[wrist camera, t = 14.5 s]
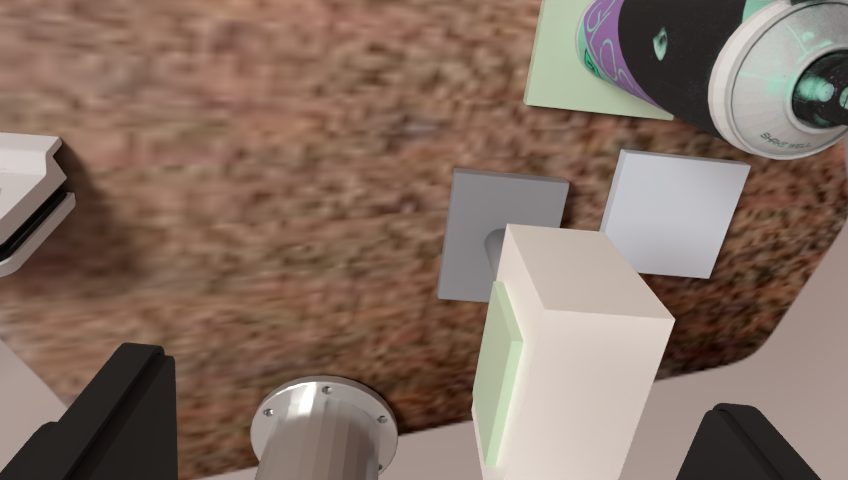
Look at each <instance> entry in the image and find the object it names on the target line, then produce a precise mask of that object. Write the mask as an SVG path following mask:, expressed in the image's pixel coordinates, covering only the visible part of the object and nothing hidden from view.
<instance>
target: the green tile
mask: <svg viewBox="0 0 848 480" xmlns="http://www.w3.org/2000/svg"><path fill="white" fill-rule="evenodd" d="M592 1H593V0H542V2H541V8H540V13H539V18H538V24H537V29H536V35H535V40H534V46H533V51H532V56H531V62H530V67H529V73H528V78H527V83H526V89H525V94H524V100H523V102H524V103H525V104H526V105H534V106H543V107H552V108H561V109H571V110H580V111H589V112H599V113H608V114H617V115H626V116H636V117H645V118H654V119H664V120H673V117H674V115H672V114H670V113H668V112H666V111H664V110H662V109H660V108H658V107H656V106H654V105H652V104H650V103H648V102H646V101H644V100H642V99H640V98H638V97H636V96H634V95H632V94H630V93H628V92H626V91H624V90H622V89H620V88H618V87H616V86H614V85H612V84H610V83H608V82H606V81H604V80H602V79H600V78H598V77H596V76H594V75H593V74H592V73H590V72H589V71H588V70H587V69H586V68H585V67H584V66H583V65H582V63H581V62H580V60H579V58H578V56H577V52H576V48H575V34H576V28H577V25H578V22H579V19H580V17H581V15H582V13H583V11H584V10H585V9H586V7H587V6H588V5H589V4H590V3H591V2H592Z"/></svg>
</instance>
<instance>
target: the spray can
mask: <svg viewBox="0 0 848 480" xmlns="http://www.w3.org/2000/svg"><path fill="white" fill-rule="evenodd" d="M575 48H576V52H577V56H578V58H579V60H580V62H581V63H582V65H583V66H584V67H585V68H586V69H587V70H588V71H589V72H590V73H592V74H593V75H594V76H596V77H598V78H600V79H602V80H604V81H606V82H608V83H610V84H612V85H614V86H616V87H618V88H620V89H622V90H624V91H626V92H628V93H630V94H632V95H634V96H636V97H638V98H640V99H642V100H644V101H646V102H648V103H650V104H652V105H654V106H656V107H658V108H660V109H662V110H664V111H666V112H668V113H670V114H672V115H674V116H676V117H678V118H680V119H682V120H684V121H686V122H688V123H690V124H692V125H694V126H696V127H698V128H700V129H702V130H704V131H706V132H708V133H709V134H711V135H713V136H715V137H717V138H719V139H721V140H723V141H725V142H727V143H729V144H731V145H733V146H735V147H737V148H739V149H741V150H744V151H746V152H748V153H751V154H755V155H760V156H763V157H767V158H771V159H776V160H792V159H797V158H803V157H807V156H810V155H813V154H815V153H818V152H821V151H822V150H824V149H826V148H828V147H830V146H832V145H834V144H835V143H837V142H838V141H839V140H841V139H842V138H843V137H845V136H846V135H847V134H848V0H593V1H592V2H591V3H590V4H589V5H588V6H587V7H586V9H585V10H584V11H583V13H582V15H581V17H580V19H579V22H578V25H577V28H576V34H575Z"/></svg>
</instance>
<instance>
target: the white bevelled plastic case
mask: <svg viewBox="0 0 848 480" xmlns="http://www.w3.org/2000/svg"><path fill="white" fill-rule="evenodd" d="M61 145H62V142H61V139H60V138H59V137H53V136H40V135H27V134H14V133H1V132H0V277H3V276H6V275H9V274H11V273H13V272H15V271H16V270H18V269H19V268H20V267H21V266H22V264H23V263H24V262H25V261H26V260H27V259H28V258H29V257H30V256H31V255H32V253H33V252H34V251H35V250H36V249H37V248H38V247H39V246H40V245H41V244H42V242H43V241H44V240H45V239H46V238H47V237H48V236H49V235H50V234H51V233H52V231H53V230H54V229H55V228H56V227H57V226H58V225H59V224H60V223H61V221H62V220H63V219H64V218H65V217H66V216H67V215H68V214H69V213H70V212H71V210H72V209H73V208H74V207H75V195H74V193H70V192H66V191H65V190H59V189H60V188H61V187H62V186H63V184H62V183H63V182H64V181H65V180H66V179H67V177H66V176H65V174H64V173H63V171H62V170H61V168H60V167H59V165H58V164H57V163H56V161H55V160H54V158H53V155H54V154H55V152H56V151H57V150H58V149H59V147H60V146H61Z"/></svg>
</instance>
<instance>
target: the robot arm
mask: <svg viewBox="0 0 848 480" xmlns="http://www.w3.org/2000/svg"><path fill="white" fill-rule="evenodd" d="M251 443H252V446H253V450H254V452H255V454H256V456H257V458H258V460H259V461H260V463H259V467H258V470H257V473H256V477H255V480H378V475H380V474H381V473H382V472H383V471H384V470H385V469H386V468H387V467H388V465H389V464H390V463H391V461H392V459H393V457H394V455H395V452H396V448H397V444H398V428H397V421H396V419H395V416H394V414H393V411H392V410H391V408H390V407H389V405H388V404H387V403H386V401H385V400H384V399H383V398H381V397H380V396H379V395H378V394H377V393H376V392H374V391H373V390H371V389H370V388H368V387H367V386H365V385H363V384H360V383H358V382H356V381H354V380H350V379H346V378H342V377H336V376H327V375H322V376H308V377H303V378H299V379H295V380H293V381H290V382H287V383H285V384H283V385H281V386H280V387H278V388H276V389H275V390H273V391H272V392H271V393H270V394H269V395H268V396H267V397H266V398H264V400H263V401H262V403H261V404H260V406H259V407H258V409H257V411H256V414H255V416H254V419H253V423H252V427H251ZM0 480H178V462H177V422H176V381H175V360H174V357H172V356H166V355H165V353H164V349H163V347H161V346H157V345H147V344H137V343H127V342H126V343H123V344H122V345H121V346H120V347H119V348H118V349H117V350H116V351H115V352H114V354H113V355H112V356H111V357H110V359H109V360H108V361H107V362H106V363H105V365H104V366H103V367H102V368H101V370H100V371H99V372H98V373H97V374H96V376H95V377H94V378H93V379H92V381H91V382H90V383H89V384H88V385H87V387H86V388H85V389H84V390H83V391H82V393H81V394H80V395H79V396H78V398H77V399H76V400H75V401H74V402H73V404H72V405H71V406H70V407H69V409H68V410H67V411H66V412H65V414H64V415H63V416H62V417H61V418H60V420H59V421H58V422H48V423H46V424H44V425H42V426H41V427H40V428H39V429H38V430H37V431H36V432H35V433H34V434H33V435H32V436H31V437H30V439H29V440H28V441H27V442H26V443H25V444H24V446H23V447H22V448H21V449H20V450H19V451H18V453H17V454H16V455H15V456H14V457H13V459H12V460H11V461H10V462H9V463H8V464H7V466H6V467H5V468H4V469H3V470H2V472H1V473H0ZM676 480H821V479H820V478H819V477H818V476H817V474H816V473H815V472H814V471H813V470H812V469H811V468H810V467H809V465H808V464H807V463H806V462H805V461H804V460H803V459H802V458H801V456H800V455H799V454H798V453H797V452H796V451H795V450H794V449H793V448H792V447H791V445H790V444H789V443H788V442H787V441H786V440H785V439H784V438H783V436H782V435H781V434H780V433H779V432H778V431H777V430H776V429H775V427H774V426H773V425H772V424H771V423H770V422H769V421H768V420H767V418H766V417H764V415H763V414H762V413H761V412H760V411H759V410H758V409H757V408H755V407H753V406H749V405H739V404H729V403H720V404H717V405H716V406H714V408H713V410H709V411H708V412H706V414H705V415H704V417H703V419H702V422H701V424H700V426H699V429H698V431H697V433H696V435H695V437H694V440H693V442H692V444H691V446H690V449H689V451H688V453H687V456H686V458H685V460H684V462H683V464H682V467H681V469H680V471H679V474H678V476H677V478H676Z"/></svg>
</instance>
